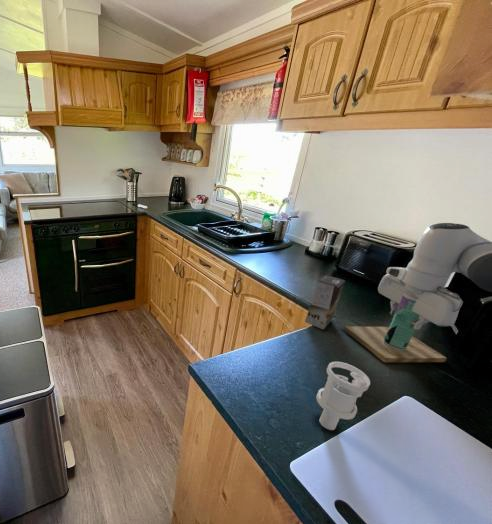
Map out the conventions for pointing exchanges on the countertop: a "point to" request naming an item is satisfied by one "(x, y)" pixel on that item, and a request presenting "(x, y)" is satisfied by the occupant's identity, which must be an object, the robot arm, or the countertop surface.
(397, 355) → the chopping board
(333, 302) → the coffee box
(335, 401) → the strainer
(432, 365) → the countertop surface
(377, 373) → the countertop surface
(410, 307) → the spray can
